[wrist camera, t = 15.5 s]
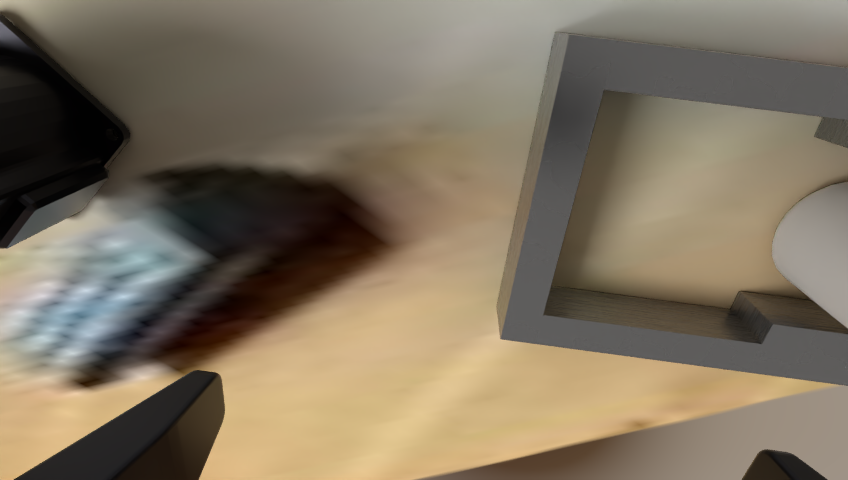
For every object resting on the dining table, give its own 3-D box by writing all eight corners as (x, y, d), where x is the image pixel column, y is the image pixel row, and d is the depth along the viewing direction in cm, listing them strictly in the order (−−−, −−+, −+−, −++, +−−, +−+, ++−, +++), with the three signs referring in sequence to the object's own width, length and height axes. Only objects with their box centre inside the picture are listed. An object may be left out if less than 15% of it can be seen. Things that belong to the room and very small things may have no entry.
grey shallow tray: (496, 306, 22) (503, 366, 18) (555, 32, 17) (581, 36, 13) (876, 356, 22) (964, 428, 18) (1059, 93, 16) (1238, 116, 13)
